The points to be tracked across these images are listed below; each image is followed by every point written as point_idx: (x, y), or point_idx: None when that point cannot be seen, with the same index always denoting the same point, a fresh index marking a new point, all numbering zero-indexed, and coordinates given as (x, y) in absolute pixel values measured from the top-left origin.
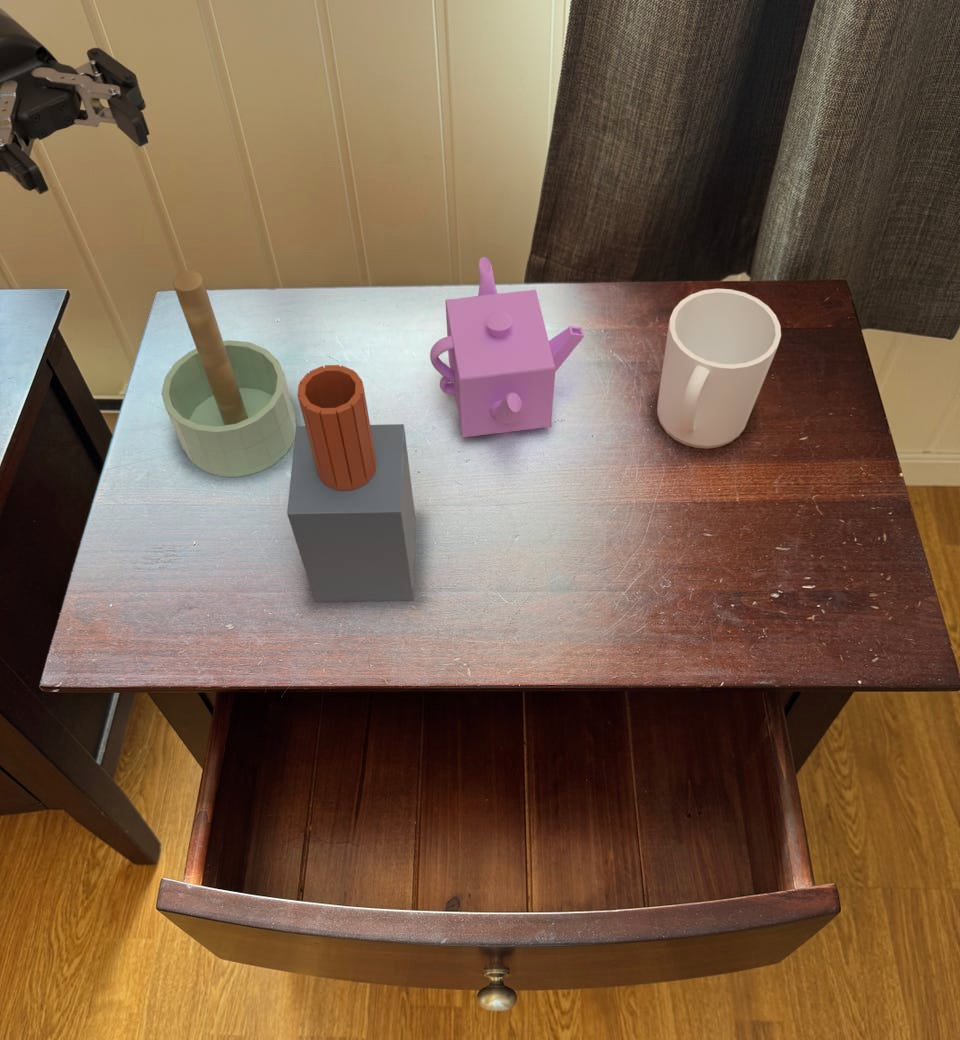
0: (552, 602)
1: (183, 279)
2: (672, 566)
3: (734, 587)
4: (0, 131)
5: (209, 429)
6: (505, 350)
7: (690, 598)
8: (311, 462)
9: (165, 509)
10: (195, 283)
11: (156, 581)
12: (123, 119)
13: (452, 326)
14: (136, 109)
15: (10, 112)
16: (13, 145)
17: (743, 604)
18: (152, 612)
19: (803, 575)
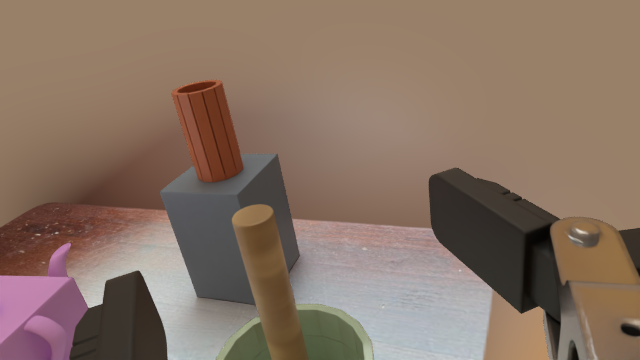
0: (160, 240)
1: (256, 215)
2: (82, 250)
3: (68, 237)
4: (606, 270)
5: (325, 306)
6: (7, 296)
7: (93, 235)
8: (242, 174)
9: (409, 342)
10: (244, 210)
11: (420, 282)
12: (146, 335)
13: (11, 331)
14: (78, 345)
15: (579, 305)
16: (522, 221)
17: (75, 231)
18: (423, 262)
19: (32, 239)
